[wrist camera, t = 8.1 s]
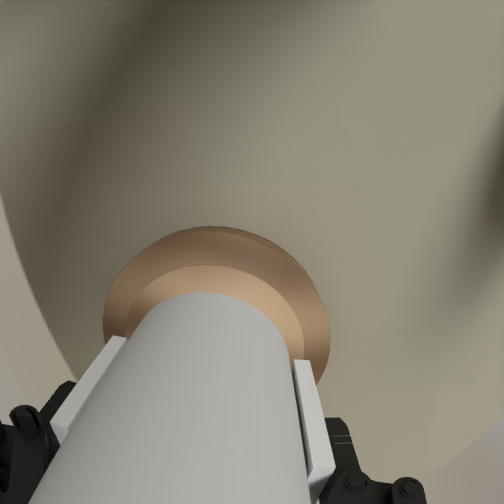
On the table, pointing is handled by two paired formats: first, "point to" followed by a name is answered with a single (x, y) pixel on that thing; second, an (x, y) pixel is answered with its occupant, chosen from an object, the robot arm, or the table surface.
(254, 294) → the brown wooden plate
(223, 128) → the table surface
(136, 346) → the white cylindrical piece
